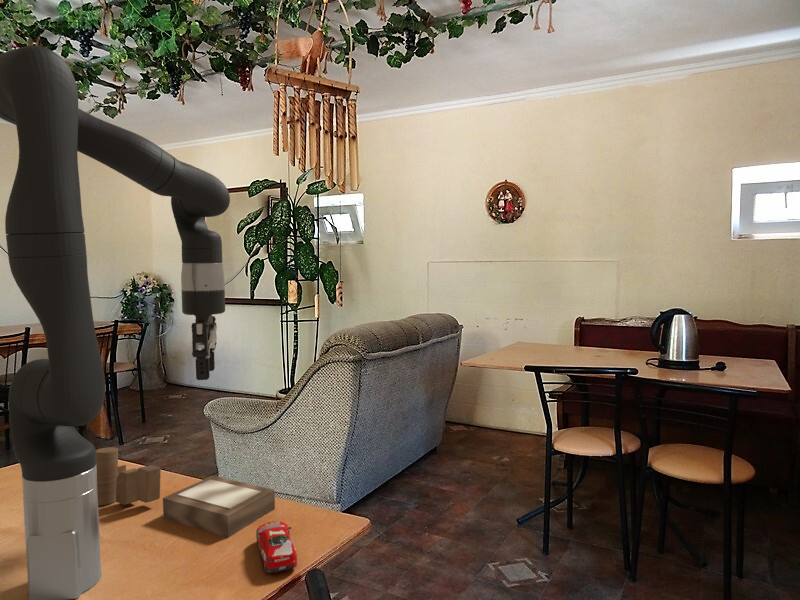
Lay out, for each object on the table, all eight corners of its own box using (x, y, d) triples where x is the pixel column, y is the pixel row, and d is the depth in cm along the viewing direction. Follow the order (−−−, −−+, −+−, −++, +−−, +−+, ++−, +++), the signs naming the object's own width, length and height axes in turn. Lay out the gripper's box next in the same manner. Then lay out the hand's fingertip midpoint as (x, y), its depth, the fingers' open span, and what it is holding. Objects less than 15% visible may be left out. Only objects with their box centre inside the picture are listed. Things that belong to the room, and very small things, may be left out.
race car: (254, 536, 94) (253, 513, 94) (287, 530, 96) (286, 508, 95) (262, 580, 82) (262, 554, 81) (299, 572, 83) (299, 547, 83)
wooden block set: (168, 504, 108) (169, 451, 108) (126, 518, 101) (127, 461, 101) (117, 486, 118) (119, 438, 118) (75, 497, 111) (76, 446, 111)
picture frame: (275, 510, 105) (274, 488, 105) (228, 538, 95) (227, 514, 94) (213, 494, 113) (212, 474, 112) (163, 519, 102) (162, 496, 102)
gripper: (220, 289, 96) (223, 381, 97) (227, 286, 110) (230, 367, 111) (174, 290, 94) (177, 384, 96) (187, 286, 108) (190, 369, 109)
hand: (205, 375), depth 103 cm, fingers open, 8 cm apart
